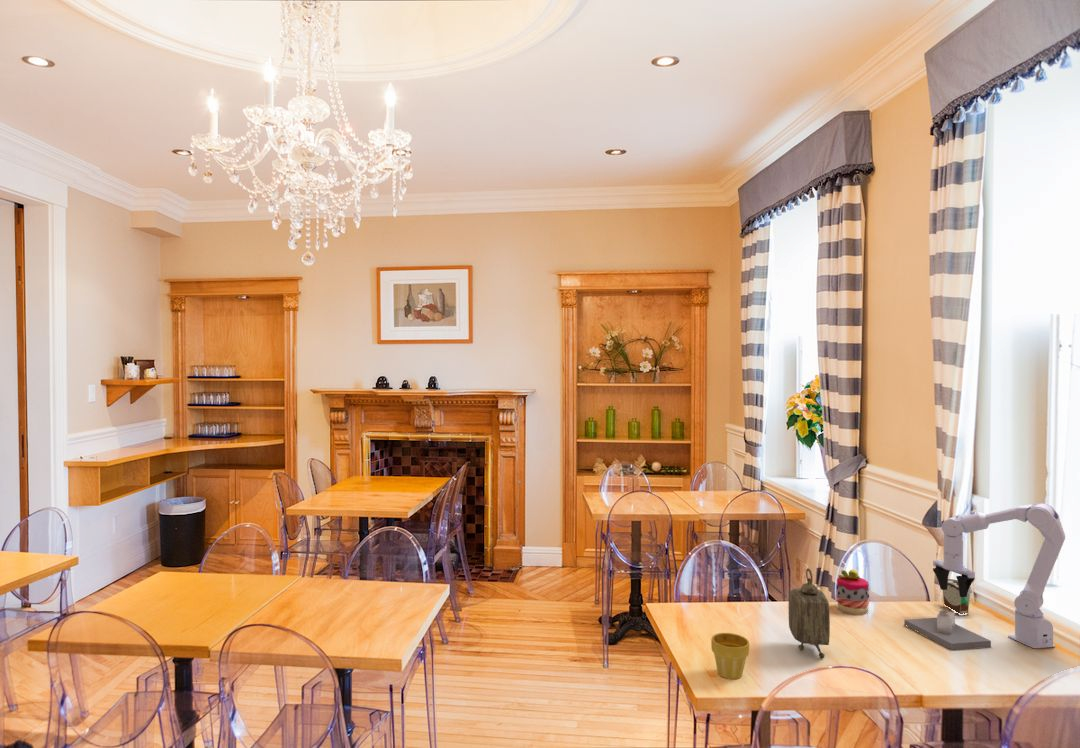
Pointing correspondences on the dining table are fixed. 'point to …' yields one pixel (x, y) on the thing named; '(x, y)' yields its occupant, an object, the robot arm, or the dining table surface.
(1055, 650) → the dining table surface
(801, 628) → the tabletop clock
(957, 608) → the food container
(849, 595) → the cake
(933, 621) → the grey flat block
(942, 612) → the housing
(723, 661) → the plant pot
